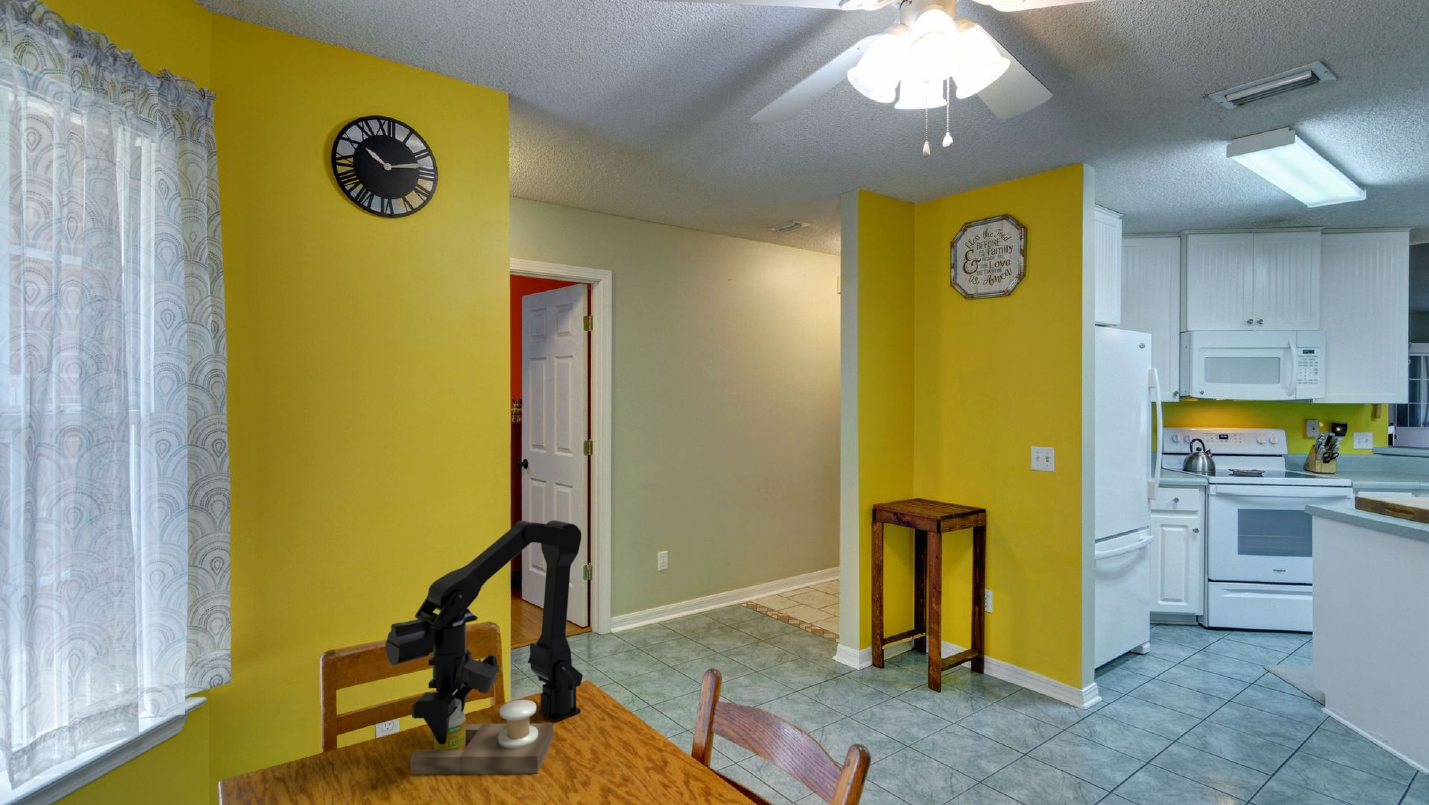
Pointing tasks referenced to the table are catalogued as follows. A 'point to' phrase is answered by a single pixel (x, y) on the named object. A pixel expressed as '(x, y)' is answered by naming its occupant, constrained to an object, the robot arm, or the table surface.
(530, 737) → the bobbin
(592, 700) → the table surface
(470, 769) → the notched board
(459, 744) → the supplement bottle
